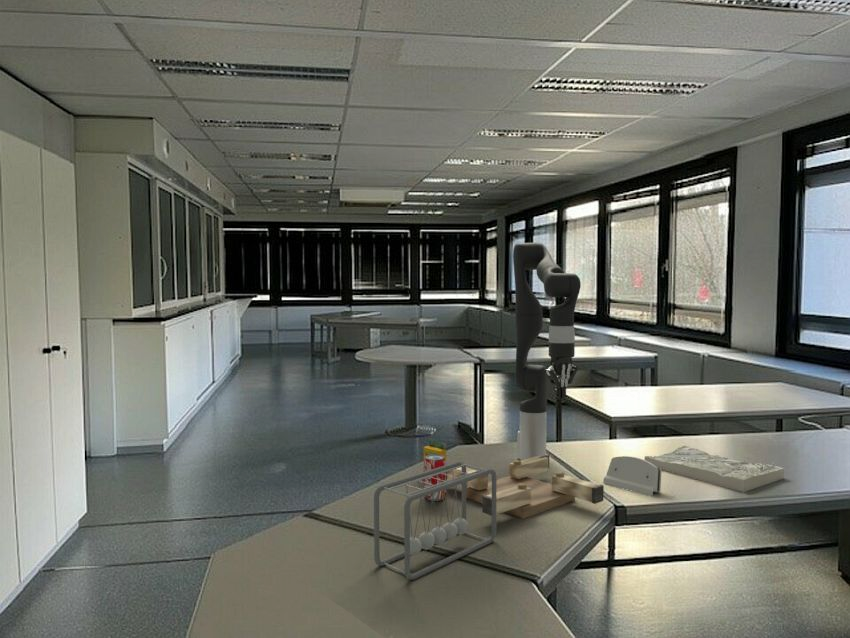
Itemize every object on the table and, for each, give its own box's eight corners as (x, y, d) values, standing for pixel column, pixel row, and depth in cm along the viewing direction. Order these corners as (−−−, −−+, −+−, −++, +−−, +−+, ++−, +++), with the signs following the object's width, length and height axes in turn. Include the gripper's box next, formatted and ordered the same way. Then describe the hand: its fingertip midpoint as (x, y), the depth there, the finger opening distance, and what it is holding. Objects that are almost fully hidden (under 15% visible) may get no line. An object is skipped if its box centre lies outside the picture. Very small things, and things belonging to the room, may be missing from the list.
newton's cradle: (407, 583, 128) (406, 498, 127) (373, 568, 135) (372, 486, 134) (497, 540, 150) (497, 467, 149) (463, 529, 157) (463, 459, 156)
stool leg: (551, 490, 178) (551, 473, 178) (559, 487, 180) (560, 470, 180) (594, 503, 167) (595, 485, 166) (603, 500, 169) (603, 482, 169)
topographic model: (743, 493, 184) (743, 476, 184) (644, 466, 212) (644, 451, 212) (783, 479, 198) (784, 463, 197) (685, 455, 226) (685, 441, 225)
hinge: (601, 483, 193) (608, 450, 195) (609, 485, 196) (615, 453, 198) (652, 496, 181) (659, 461, 182) (660, 498, 184) (666, 464, 186)
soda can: (434, 493, 184) (434, 452, 184) (450, 498, 180) (450, 456, 179) (419, 498, 180) (419, 456, 179) (435, 503, 175) (435, 461, 175)
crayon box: (423, 477, 200) (423, 441, 199) (429, 475, 202) (429, 439, 201) (440, 482, 195) (440, 445, 194) (446, 479, 197) (446, 443, 196)
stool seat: (415, 495, 182) (415, 469, 181) (516, 467, 210) (516, 445, 209) (496, 528, 157) (496, 498, 157) (598, 491, 185) (599, 466, 185)
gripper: (556, 343, 179) (556, 403, 179) (586, 340, 187) (585, 398, 188) (536, 341, 184) (536, 399, 185) (566, 338, 193) (565, 395, 193)
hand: (561, 399), depth 186 cm, fingers closed
